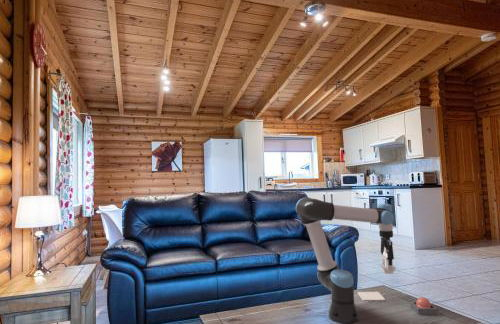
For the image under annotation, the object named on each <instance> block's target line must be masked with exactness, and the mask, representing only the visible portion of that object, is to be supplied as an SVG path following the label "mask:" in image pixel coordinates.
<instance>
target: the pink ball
mask: <svg viewBox="0 0 500 324" xmlns="http://www.w3.org/2000/svg"><path fill="white" fill-rule="evenodd" d="M415 302H416V306H417V307H419V308H431V304H432V303H431V302H430V300H429V299H428V298H427V297H423V296H422V297H419V298H417V300H416V301H415ZM430 303H431V304H430Z"/></svg>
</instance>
